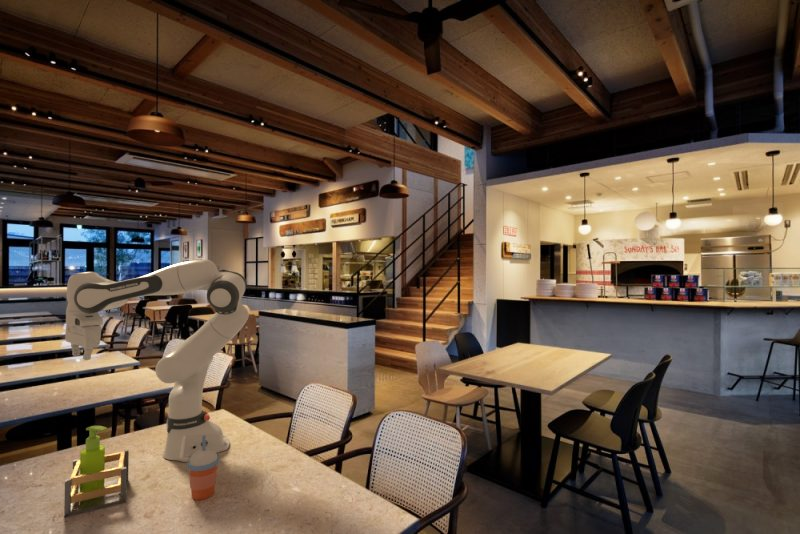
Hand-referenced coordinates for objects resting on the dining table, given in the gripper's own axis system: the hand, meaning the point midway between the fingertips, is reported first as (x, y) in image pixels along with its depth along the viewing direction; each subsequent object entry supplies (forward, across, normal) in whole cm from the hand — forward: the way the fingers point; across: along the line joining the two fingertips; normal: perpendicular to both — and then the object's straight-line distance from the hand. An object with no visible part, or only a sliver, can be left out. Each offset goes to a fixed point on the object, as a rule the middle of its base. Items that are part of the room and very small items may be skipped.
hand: (81, 357), depth 138 cm
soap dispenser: (+36, +27, -5) cm, 45 cm away
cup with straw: (+37, +53, +14) cm, 66 cm away
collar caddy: (+37, +28, -4) cm, 47 cm away
